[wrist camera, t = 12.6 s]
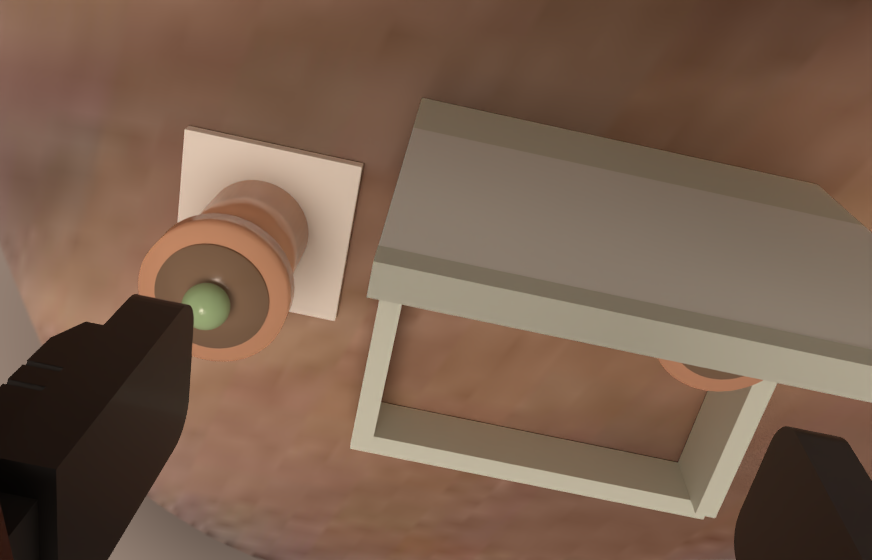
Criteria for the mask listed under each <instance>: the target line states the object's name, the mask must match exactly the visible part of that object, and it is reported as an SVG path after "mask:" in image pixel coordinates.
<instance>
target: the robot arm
mask: <svg viewBox="0 0 872 560" xmlns="http://www.w3.org/2000/svg"><path fill="white" fill-rule="evenodd" d="M193 327H194V314H193V309H192V307H191V306H190V305H188V304H183V303H178V302H173V301H168V300H163V299H158V298H153V297H148V296H143V295H138V294H134V295H132V296H131V297H130V298H129V299H128V300H127V301H126V302H125V303H124V304H123V305H122V306H121V307H120V308H119V309H118V310H117V311H116V312H115V313H114V315H113V316H112V317H111V318H110V319H109V320H108V321H107V322H106V323H105V324H104V325H100V324H95V323H90V322H84V323H82V324H80V325H77V326H75V327H73V328H71V329H69V330H66V331H64V332H62V333H60V334H58V335H55V336H53V337H51V338H50V339H49V340H48V341H47V342H46V343H45V344H43V345H42V346H41V347H40V349H38V350H37V351H36V352H35V353H34V354H33V355H32V356H31V357H30V358H29V359H28V360H27V364H26V365H22V366H21V367H20V368H19V369H18V370H17V371H16V372H15V373H14V374H13V375H12V376H10V377H9V379H8V382H7V384H2V385H1V386H0V560H108V558H109V557H110V555H111V553H112V551H113V550H114V548H115V547H116V545H117V543H118V542H119V540H120V538H121V537H122V535H123V533H124V532H125V530H126V528H127V527H128V525H129V523H130V522H131V520H132V518H133V516H134V515H135V513H136V512H137V510H138V508H139V506H140V505H141V503H142V502H143V500H144V498H145V497H146V495H147V493H148V492H149V490H150V488H151V487H152V485H153V483H154V482H155V480H156V478H157V477H158V475H159V473H160V472H161V470H162V468H163V467H164V465H165V463H166V462H167V460H168V459H169V457H170V455H171V454H172V452H173V450H174V448H175V447H176V445H177V443H178V440H179V438H180V435H181V433H182V430H183V426H184V423H185V419H186V415H187V410H188V402H189V388H190V373H191V358H192V342H193ZM734 550H735V557H736V560H872V481H871V479H870V477H869V476H868V474H867V473H866V471H865V469H864V468H863V466H862V464H861V463H860V461H859V460H858V458H857V456H856V455H855V453H854V452H853V450H852V448H851V447H850V445H849V444H848V442H847V441H846V440H845V439H843V438H841V437H837V436H832V435H827V434H822V433H817V432H812V431H807V430H802V429H798V428H793V427H782V428H781V429H779V430H778V431H777V432H776V434H775V435H774V437H773V438H772V440H771V442H770V445H769V447H768V449H767V452H766V454H765V456H764V458H763V461H762V463H761V465H760V467H759V470H758V472H757V474H756V476H755V479H754V481H753V483H752V486H751V488H750V490H749V492H748V495H747V497H746V499H745V501H744V504H743V506H742V508H741V510H740V513H739V516H738V519H737V523H736V528H735V536H734Z"/></svg>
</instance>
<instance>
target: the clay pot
mask: <svg viewBox="0 0 872 560" xmlns="http://www.w3.org/2000/svg"><path fill="white" fill-rule="evenodd" d="M308 235H309V232H308V224H307V220H306V217H305V214H304V212H303V210H302V208H301V207H300V205H299V204H298V202H297V201H296V200H295V199H294V198H293V197H292V196H291V195H290V194H289V193H287V192H286V191H285V190H283V189H282V188H280V187H278V186H276V185H274V184H271V183H268V182H265V181H259V180H244V181H239V182H236V183H233V184H231V185H229V186H227V187H225V188H224V189H223V190H221V191H220V192H219V193H218V194H217V195H216V196H215V197H214V198H213V200H212V201H211V202H210V203H209V204H208V205H207V206H206V207H205V209H204V210H203V211H202V212H201V213H200V214H199V215H195V216H192V217H189V218H186V219H184V220H182V221H180V222H178V223H177V224H175V225H174V226H173V227H171V228H170V229H169V230H168V231H167V232H166V233H165V234H164V235H163V236H162V237H161V238H160V239H159V240H158V242H157V243H156V244H155V245H154V246H153V247H152V248H151V249H150V251H149V252H148V253H147V255H146V257H145V259H144V261H143V263H142V265H141V269H140V272H139V278H138V291H139V295H143V296H148V297H153V298H158V299H163V300H168V301H173V302H178V303H183V304H188V305H190V306H191V307H192V309H193V314H194V327H193V342H192V356H194V357H197V358H201V359H205V360H211V361H235V360H240V359H244V358H247V357H250V356H252V355H254V354H256V353H258V352H260V351H261V350H263V349H264V348H266V347H267V346H268V345H269V344H270V343H271V342H272V341H273V340H274V339H275V337H276V336H277V335H278V333H279V332H280V330H281V328H282V326H283V324H284V322H285V319H286V317H287V315H288V313H289V310H290V308H291V306H292V302H293V298H294V290H295V286H294V276H293V274H294V272H295V270H296V268H297V266H298V264H299V262H300V260H301V258H302V256H303V254H304V252H305V249H306V247H307V243H308Z"/></svg>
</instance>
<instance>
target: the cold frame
mask: <svg viewBox="0 0 872 560" xmlns="http://www.w3.org/2000/svg"><path fill="white" fill-rule="evenodd" d="M367 297H368V298H373V299H377V300H379V304H378V309H377V314H376V319H375V324H374V329H373V334H372V339H371V344H370V349H369V354H368V359H367V364H366V369H365V374H364V379H363V384H362V389H361V394H360V399H359V404H358V409H357V414H356V419H355V424H354V429H353V434H352V439H351V444H350V445H351V447H350V449H355V450H360V451H364V452H369V453H374V454H379V455H384V456H389V457H394V458H399V459H404V460H409V461H414V462H419V463H424V464H429V465H434V466H439V467H444V468H449V469H454V470H459V471H464V472H469V473H474V474H479V475H484V476H489V477H494V478H499V479H504V480H509V481H514V482H519V483H524V484H529V485H534V486H539V487H544V488H549V489H554V490H559V491H564V492H569V493H574V494H578V495H583V496H588V497H593V498H598V499H603V500H608V501H613V502H618V503H623V504H628V505H633V506H638V507H643V508H648V509H653V510H658V511H663V512H668V513H673V514H678V515H683V516H688V517H693V518H698V519H704V517H705V516H707V517H712V518H716V516H717V513H718V511H719V509H720V507H721V505H722V502H723V500H724V498H725V496H726V494H727V491H728V489H729V487H730V485H731V483H732V481H733V478H734V476H735V474H736V472H737V470H738V467H739V465H740V463H741V461H742V459H743V457H744V454H745V452H746V450H747V448H748V446H749V443H750V441H751V439H752V437H753V435H754V433H755V430H756V428H757V426H758V424H759V422H760V419H761V417H762V415H763V413H764V411H765V409H766V406H767V404H768V402H769V400H770V398H771V395H772V393H773V391H774V389H775V387H776V384H777V383H780V384H785V385H790V386H794V387H799V388H804V389H809V390H813V391H818V392H823V393H828V394H833V395H837V396H842V397H847V398H852V399H857V400H861V401H866V402H871V403H872V232H870V231H869V230H868V229H867V228H866V227H865V226H864V225H863V224H861V223H860V222H859V221H858V220H857V219H856V218H855V217H854V216H852V215H851V214H850V213H849V212H848V211H847V210H846V209H845V208H843V207H842V206H841V205H840V204H839V203H838V202H837V201H836V200H834V199H833V198H832V197H831V196H830V195H829V194H828V193H827V192H825V191H824V190H823V189H822V188H821V187H820V186H819V185H818V184H814V183H809V182H805V181H800V180H795V179H791V178H786V177H782V176H777V175H773V174H768V173H764V172H759V171H754V170H750V169H745V168H741V167H736V166H732V165H727V164H722V163H718V162H713V161H709V160H704V159H700V158H695V157H691V156H686V155H681V154H677V153H672V152H668V151H663V150H659V149H654V148H650V147H645V146H640V145H636V144H631V143H627V142H622V141H618V140H613V139H609V138H604V137H599V136H595V135H590V134H586V133H581V132H577V131H572V130H567V129H563V128H558V127H554V126H549V125H545V124H540V123H536V122H531V121H526V120H522V119H517V118H513V117H508V116H504V115H499V114H495V113H490V112H485V111H481V110H476V109H472V108H467V107H463V106H458V105H453V104H449V103H444V102H440V101H435V100H431V99H426V98H422V99H421V103H420V106H419V109H418V113H417V116H416V120H415V123H414V126H413V130H412V133H411V136H410V140H409V143H408V147H407V150H406V153H405V157H404V160H403V164H402V167H401V170H400V174H399V177H398V181H397V184H396V187H395V191H394V194H393V198H392V201H391V204H390V208H389V211H388V215H387V218H386V221H385V225H384V228H383V232H382V235H381V238H380V242H379V245H378V247H377V251H376V254H375V258H374V261H373V266H372V271H371V276H370V282H369V287H368V292H367ZM402 305H406V306H411V307H416V308H421V309H425V310H430V311H435V312H440V313H445V314H449V315H454V316H459V317H464V318H468V319H473V320H478V321H483V322H488V323H492V324H497V325H502V326H507V327H512V328H516V329H521V330H526V331H531V332H536V333H540V334H545V335H550V336H555V337H560V338H564V339H569V340H574V341H579V342H583V343H588V344H593V345H598V346H603V347H607V348H612V349H617V350H622V351H627V352H631V353H636V354H641V355H646V356H651V357H655V358H660V359H665V360H670V361H675V362H679V363H684V364H689V365H694V366H698V367H703V368H708V369H713V370H718V371H722V372H727V373H732V374H737V375H742V376H746V377H751V378H756V379H761V380H763V381H761V382H759V383H757V384H755V385H752V386H749V387H746V388H742V389H738V390H733V391H721V392H716V391H707V394H706V396H705V399H704V401H703V403H702V406H701V408H700V411H699V413H698V415H697V418H696V420H695V423H694V425H693V427H692V430H691V432H690V435H689V437H688V439H687V442H686V444H685V447H684V449H683V451H682V454H681V456H680V459H679V461H678V462H673V461H668V460H663V459H659V458H654V457H649V456H644V455H639V454H634V453H629V452H624V451H619V450H614V449H609V448H604V447H600V446H595V445H590V444H585V443H580V442H575V441H570V440H565V439H560V438H555V437H550V436H546V435H541V434H536V433H531V432H526V431H521V430H516V429H511V428H506V427H501V426H496V425H491V424H487V423H482V422H477V421H472V420H467V419H462V418H457V417H452V416H447V415H442V414H437V413H433V412H428V411H423V410H418V409H413V408H408V407H403V406H398V405H393V404H388V403H383V402H381V400H382V395H383V391H384V386H385V381H386V376H387V372H388V367H389V362H390V358H391V353H392V348H393V344H394V339H395V334H396V330H397V325H398V320H399V316H400V311H401V306H402Z"/></svg>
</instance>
